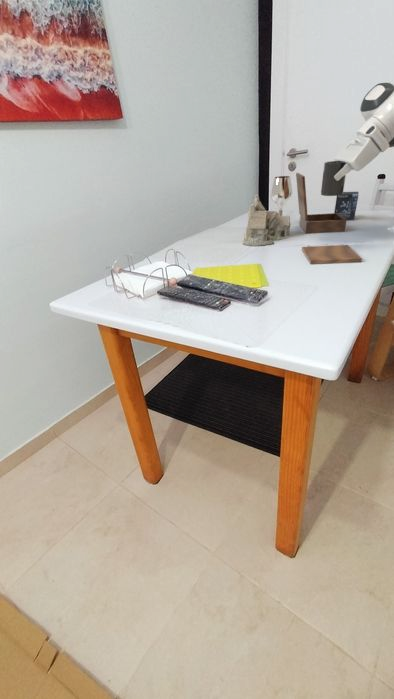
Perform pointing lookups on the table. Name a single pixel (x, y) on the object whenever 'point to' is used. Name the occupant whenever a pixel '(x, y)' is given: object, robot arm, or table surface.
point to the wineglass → (281, 190)
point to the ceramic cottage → (265, 225)
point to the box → (346, 205)
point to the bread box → (323, 223)
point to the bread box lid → (302, 196)
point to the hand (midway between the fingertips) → (331, 177)
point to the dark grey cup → (332, 179)
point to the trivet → (330, 254)
